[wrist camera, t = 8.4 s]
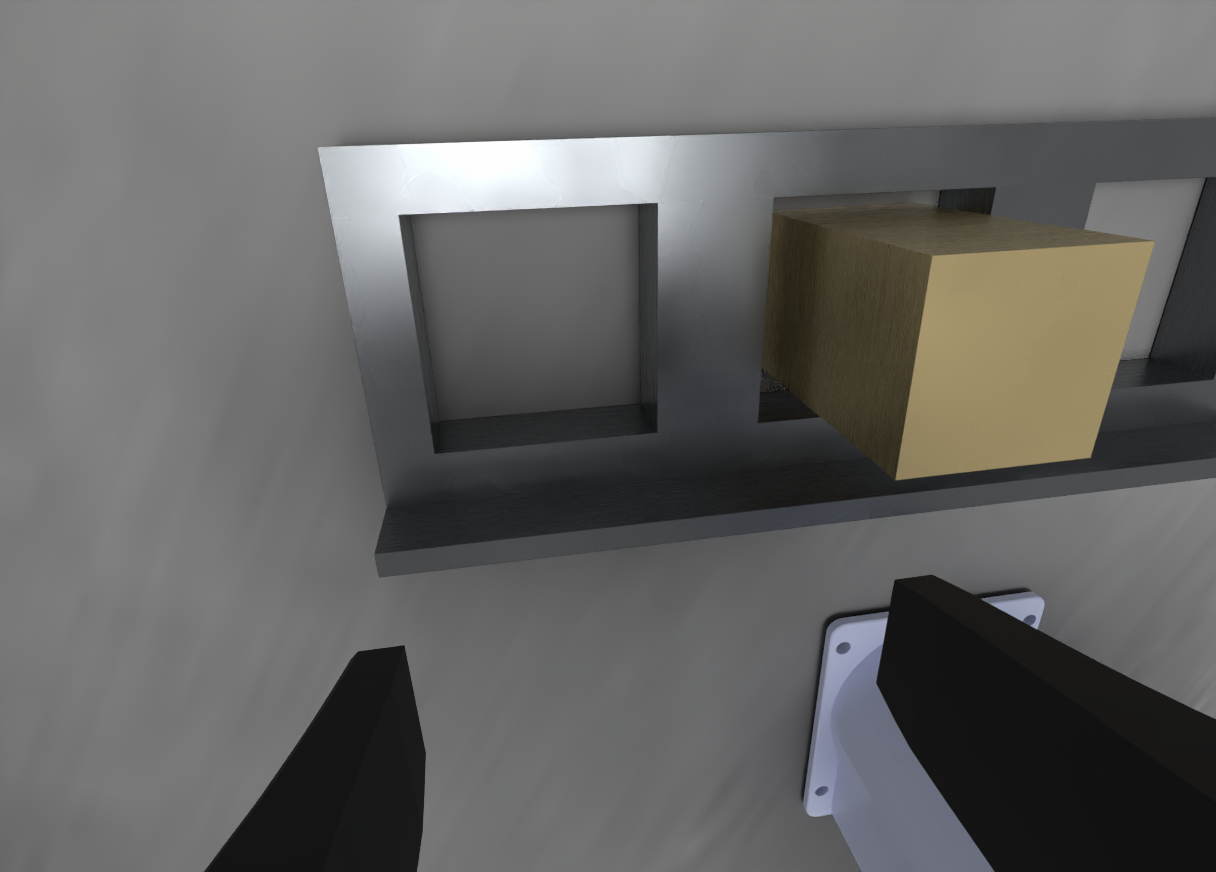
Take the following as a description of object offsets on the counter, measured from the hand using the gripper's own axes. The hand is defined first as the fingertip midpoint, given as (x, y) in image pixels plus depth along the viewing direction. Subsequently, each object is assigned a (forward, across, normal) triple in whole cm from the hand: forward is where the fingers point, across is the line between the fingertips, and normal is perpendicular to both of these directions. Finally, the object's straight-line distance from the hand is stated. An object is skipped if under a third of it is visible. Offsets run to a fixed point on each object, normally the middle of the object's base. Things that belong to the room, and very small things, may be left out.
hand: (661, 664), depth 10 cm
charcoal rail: (+9, -7, -3) cm, 12 cm away
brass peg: (+9, -7, -3) cm, 12 cm away
